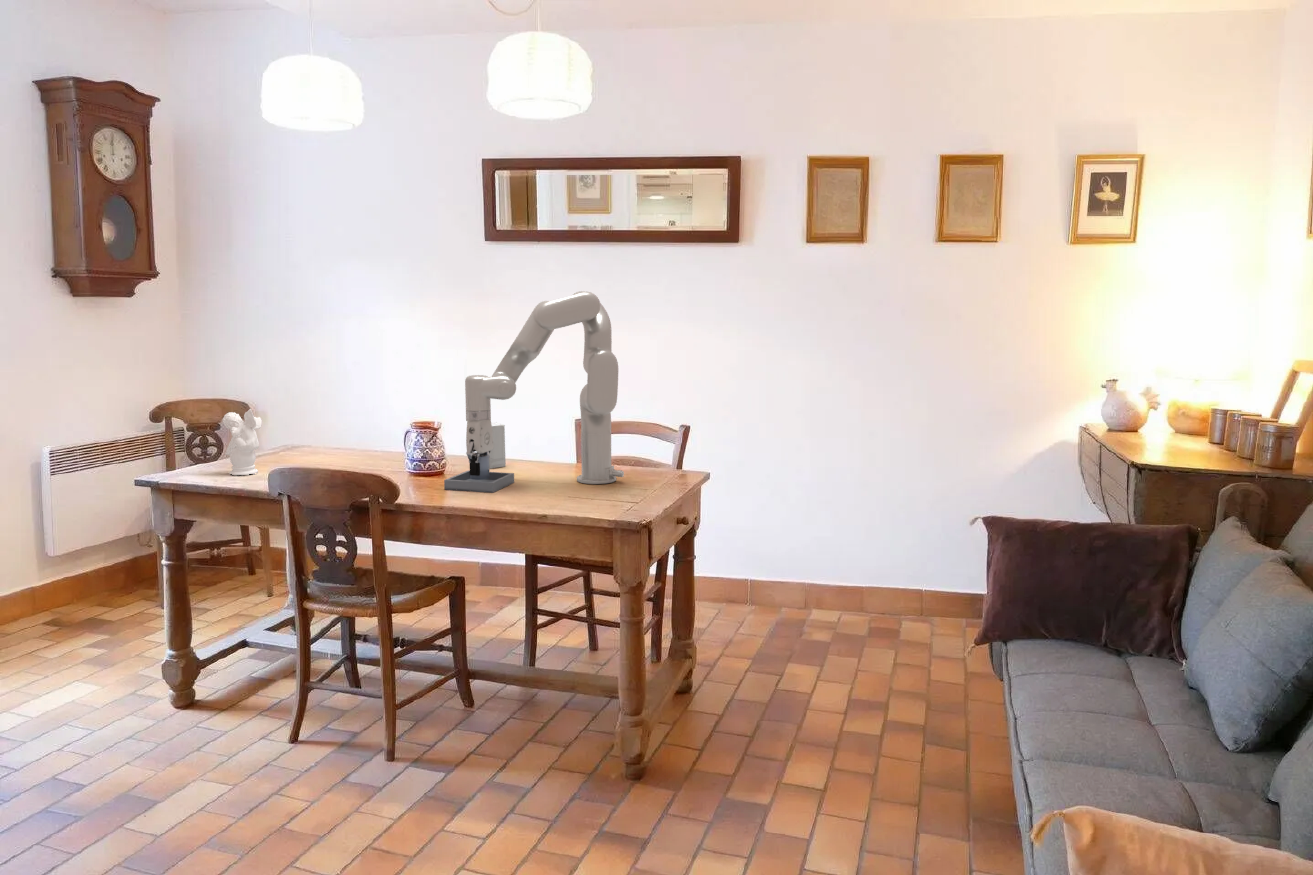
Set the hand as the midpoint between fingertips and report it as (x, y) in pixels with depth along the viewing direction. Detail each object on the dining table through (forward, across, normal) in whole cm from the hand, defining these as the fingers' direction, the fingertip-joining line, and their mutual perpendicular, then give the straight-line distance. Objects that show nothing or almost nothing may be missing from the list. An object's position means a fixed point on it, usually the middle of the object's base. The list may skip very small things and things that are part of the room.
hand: (479, 472), depth 301 cm
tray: (+4, 0, 0) cm, 4 cm away
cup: (+2, 0, 0) cm, 2 cm away
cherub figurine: (+4, -2, +82) cm, 82 cm away
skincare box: (+4, +30, +10) cm, 32 cm away
